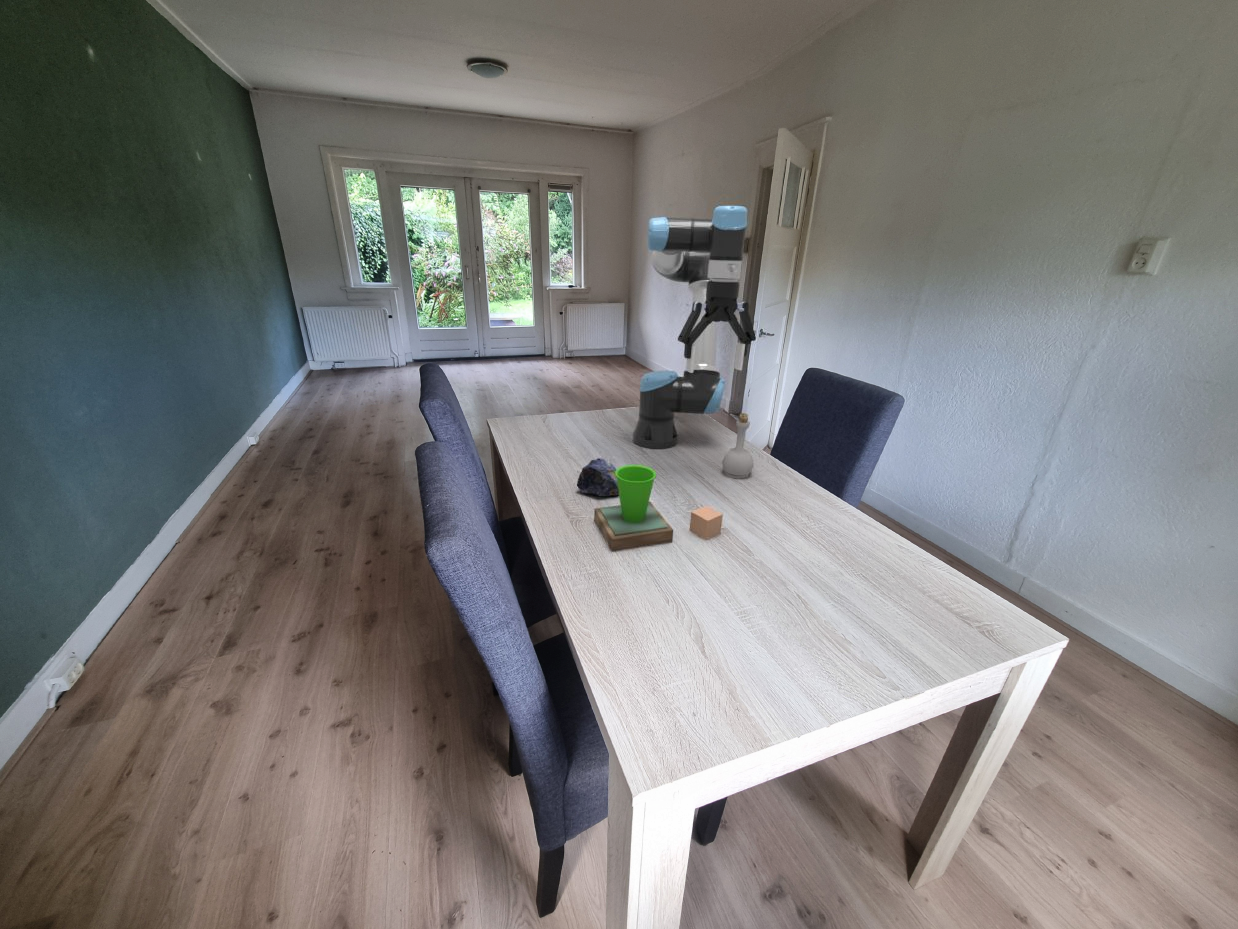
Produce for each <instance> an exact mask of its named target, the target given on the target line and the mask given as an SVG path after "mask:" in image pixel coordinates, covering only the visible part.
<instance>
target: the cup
mask: <svg viewBox="0 0 1238 929" xmlns="http://www.w3.org/2000/svg"><path fill="white" fill-rule="evenodd" d="M615 476H616V477H617V483H618V490H619V494H618V495H619V502H620V505H621V511H622V517H623V519H624V520H626V521H628V522H633V523H636V522H641V521H642V520H644V518H645V516H646V511H647V507H648V503H649V501H650V499H651V494H652V491H653V490H652V489H653V485H654V481H655V478H656V477H657V473H656V471H655V469H652V468H651V467H649V466H645V465H641V464H626V465H623V466H620V467H618V468H616V471H615Z"/></svg>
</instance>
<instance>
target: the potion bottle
mask: <svg viewBox="0 0 1238 929" xmlns="http://www.w3.org/2000/svg"><path fill="white" fill-rule="evenodd" d="M738 416H739V418H738V420H736V422H735V423H736V424H735V425H736V428H737V435H736V442H735V447H733V448H732V447H731V448H729V449H728V451H727V452H726V453H725V454H724V456H723V459H722V461H721V464H722V465H721V466H722V469H723V470H724V474H725V475H726V476H727V477H728V478H733V479H746V478H747V477H749V474H750V473H752V471H753V468H754V466H755V465H754V460H753V456H752V454H751V453H750V450H748V449H745V447H744V446H745V441H746V440H745V439H746V432H747V430H748V429H749V427H750V425H751V422H750V421H749V417H748V416H749V415H748V413H744V412H743V413H740V414H739V415H738Z"/></svg>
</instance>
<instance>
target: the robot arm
mask: <svg viewBox="0 0 1238 929" xmlns="http://www.w3.org/2000/svg"><path fill="white" fill-rule="evenodd" d="M747 227H748V209H747V208H746V207H745V206H742V205H741V206H740V205H719V206H717V207H715V209H713V216H712V218H694V217H693V218H688V217H686V218H684V217H665V216H662V217H653V218H650V219H649V221H648V232H647V248H648V250H649V251H653V252H652V257H651V262H652V266H653V269H654V270H655V271H656V272H657V273H658V274H659V275H661V276H662V277H663V278H665V279H667V280H670V281H673V282H678V283H688V287H687V288H688V290H689V291H690V292H691V293H692V299H691V300H692V301H691V302H692V303H691V304H692V305H691V311H690V314H689V316H688V317H687V320H686V321H685V323H684V325H683V327H682V329H681V331H680V333H679V335H678V336H677V341H678V342H679V343H680V342H681V343H682V344H684V350H683V351H684V352H683V353H684V354H683V357H684V358H685V359H686V363H685V364H686V365H685V369H684V370H683V376H678V372H676V371H674V370H666V369H665V370H663V369H662V370H656V371H651V372H647V373H645V374H644V375H643V376H641V379H640V387H639V408H638V410H639V411H638V420H637V421H636V422H637V423H636V425H635V427H634V429H633V433H632V442H633V443H634V444H636V445H637V446H640V447H642V448H647V449H657V450H658V449H660V450H661V449H669V448H673V447H674V446H676V445H677V444H678V442H679V441H678V438H679V436H678V432H677V428H676V424H675V413H678V414H680V413H681V414H696V415H697V414H700V415H714V414H716V413H718V411H719V410H720V407H721V404H722V400H723V396H724V391H725V390H724V389H725V382H726V381H725V379H724V378H722V377H720V376H721V374H720V373H721V372H720V371H719V369H718V368H717V367H716V365H717V364H716V363H717V346H718V345H717V344H718V329H719V322H723V323H724V322H726V323H728V324H729V326H730V327H731V328H732V331H733V332H734V333H735V335H736V336H737V337H736V338H738V340H739V341H740V342H739V341H738V342H736V348H735V355H734V363H733V369H735V370H738V371H743V367H744V366H743V364H744V357H746V356H747V352H748V346H749V345H751V342H755V341H756V340H757V337H756V333H755V330H754V327H753V322H752V319H751V316H750V312H749V302H746V301H741V300H740V302H737V299H738V297H739V291H740V290H739V289H740V282H739V281H738V280H740V279H741V274H742V264H743V255H744V254H743V253H744V246H745V238H746V231H747ZM736 311H738V314H739V317H740V321H741V324H742V326H741V324H740V322H739V321H738V320H739V319H738V318H737V316H736V315H735V312H736Z"/></svg>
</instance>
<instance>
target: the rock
mask: <svg viewBox="0 0 1238 929" xmlns="http://www.w3.org/2000/svg"><path fill="white" fill-rule="evenodd" d="M616 470H617V467H616V466H615V465H614V464H612V463H610V462H608V460H606V459H604V458H600V457H598V458H596V459H592V460H590V461H589V463H588V464H587V465H585V466H584V467H582V468H581V472H580V473H579V476H578V479H577V481H576V482H577V483H576V486H577V489H578V490H579V491H581V492H582V493H584V494H587V495H591V496H592V495H597V496H599V497H605V496H617V495H619V490H618V483H617V477H616V476H615V471H616Z"/></svg>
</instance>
